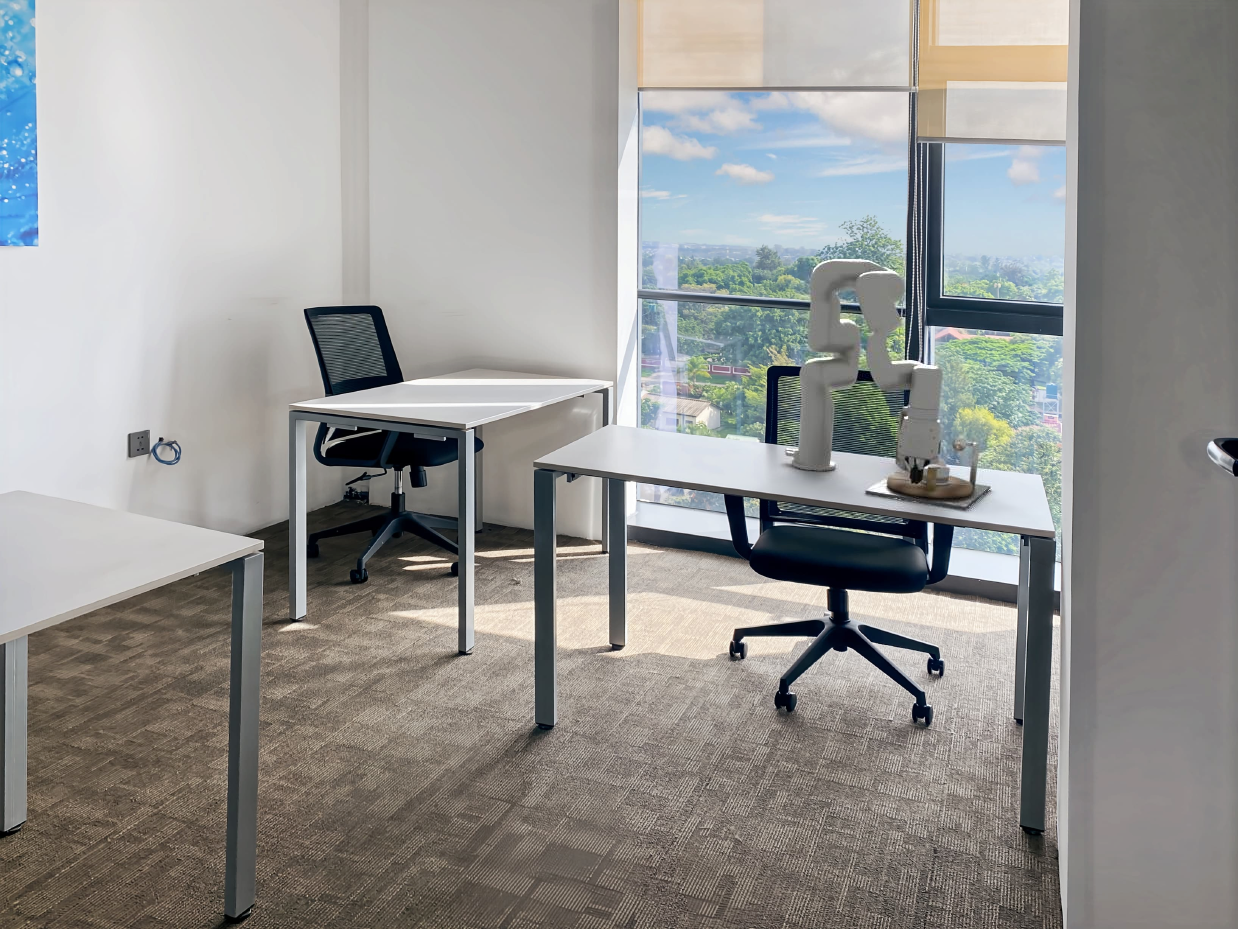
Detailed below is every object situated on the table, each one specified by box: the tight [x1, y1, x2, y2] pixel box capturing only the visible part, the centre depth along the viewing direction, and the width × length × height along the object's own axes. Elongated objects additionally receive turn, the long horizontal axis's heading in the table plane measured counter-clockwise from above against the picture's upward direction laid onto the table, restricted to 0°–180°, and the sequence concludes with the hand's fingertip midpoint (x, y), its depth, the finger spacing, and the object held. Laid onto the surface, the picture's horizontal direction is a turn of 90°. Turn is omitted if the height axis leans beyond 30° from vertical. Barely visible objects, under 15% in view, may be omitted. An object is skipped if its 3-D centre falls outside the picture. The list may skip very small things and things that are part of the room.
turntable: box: [886, 467, 973, 498], centre depth 278 cm, size 22×22×7 cm
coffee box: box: [894, 410, 908, 470], centre depth 306 cm, size 9×6×16 cm
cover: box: [920, 465, 951, 486], centre depth 278 cm, size 8×8×4 cm
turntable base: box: [864, 437, 992, 511], centre depth 277 cm, size 26×26×14 cm
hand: (915, 482), depth 272 cm, fingers closed
